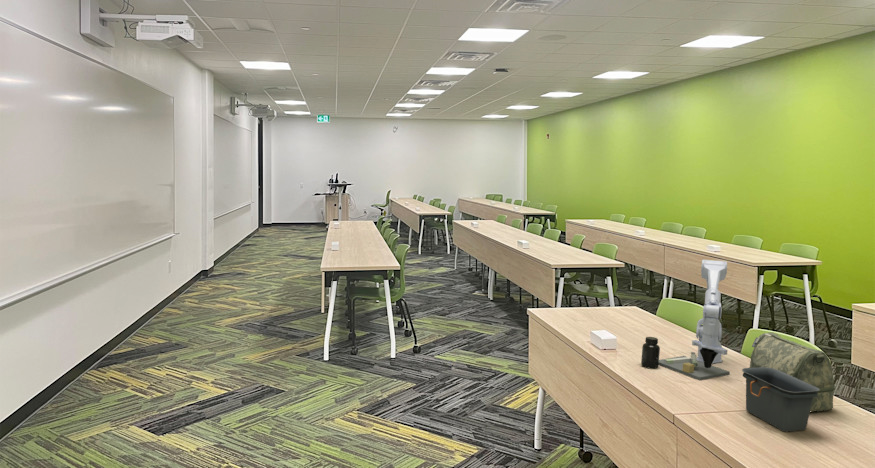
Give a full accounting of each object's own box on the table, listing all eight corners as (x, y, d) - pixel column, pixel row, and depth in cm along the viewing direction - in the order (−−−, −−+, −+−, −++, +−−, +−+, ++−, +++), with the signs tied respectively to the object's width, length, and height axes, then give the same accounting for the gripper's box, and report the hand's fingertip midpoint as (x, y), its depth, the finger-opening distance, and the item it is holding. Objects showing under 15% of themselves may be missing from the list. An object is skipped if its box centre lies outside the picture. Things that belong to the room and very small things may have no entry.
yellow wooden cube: (687, 369, 229) (688, 362, 229) (693, 372, 227) (694, 364, 226) (682, 370, 228) (683, 363, 228) (688, 373, 225) (689, 365, 225)
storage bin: (821, 434, 176) (825, 389, 174) (778, 437, 172) (783, 391, 171) (767, 407, 196) (770, 366, 195) (728, 409, 193) (732, 368, 191)
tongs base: (683, 358, 249) (684, 348, 248) (729, 374, 229) (730, 363, 229) (654, 363, 240) (655, 352, 240) (699, 380, 221) (700, 368, 221)
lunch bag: (739, 387, 215) (743, 330, 213) (781, 385, 218) (786, 330, 216) (792, 415, 190) (798, 351, 188) (839, 413, 193) (846, 350, 191)
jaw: (690, 357, 241) (690, 353, 241) (695, 358, 241) (695, 354, 240) (692, 366, 229) (692, 362, 229) (697, 367, 228) (698, 363, 228)
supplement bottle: (659, 369, 232) (662, 341, 231) (642, 368, 234) (644, 339, 233) (656, 364, 239) (658, 336, 238) (639, 362, 240) (641, 335, 239)
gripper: (688, 330, 231) (685, 363, 233) (720, 339, 218) (717, 374, 220) (699, 329, 235) (697, 361, 236) (731, 338, 222) (729, 372, 223)
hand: (707, 367), depth 228 cm, fingers closed
